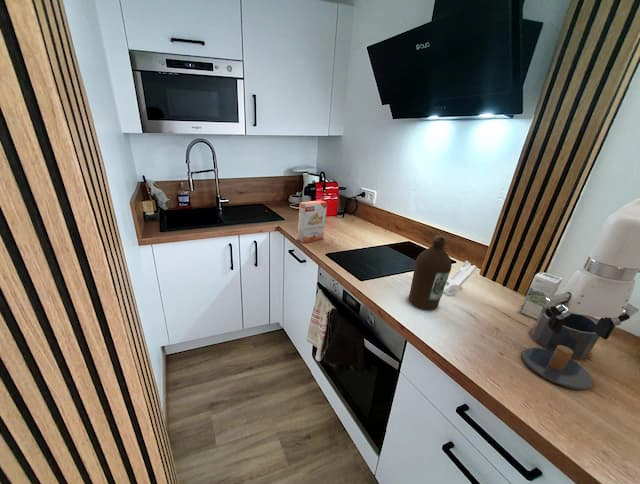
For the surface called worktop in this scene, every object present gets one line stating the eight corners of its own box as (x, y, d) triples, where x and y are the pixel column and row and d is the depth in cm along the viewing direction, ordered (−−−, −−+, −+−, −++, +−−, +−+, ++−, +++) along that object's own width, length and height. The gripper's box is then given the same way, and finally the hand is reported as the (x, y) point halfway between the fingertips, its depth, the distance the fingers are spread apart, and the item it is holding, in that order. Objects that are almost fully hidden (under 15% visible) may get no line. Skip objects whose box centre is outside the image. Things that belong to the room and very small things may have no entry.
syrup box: (545, 315, 95) (563, 277, 90) (539, 321, 92) (557, 282, 86) (524, 307, 100) (540, 270, 94) (518, 312, 97) (534, 274, 91)
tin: (567, 333, 87) (580, 309, 84) (600, 362, 76) (616, 337, 73) (522, 327, 89) (532, 304, 86) (547, 354, 78) (560, 329, 75)
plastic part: (433, 285, 113) (439, 258, 108) (455, 284, 114) (463, 257, 109) (445, 295, 106) (453, 267, 101) (469, 293, 107) (478, 265, 102)
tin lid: (565, 355, 78) (576, 335, 75) (606, 396, 66) (620, 374, 63) (511, 347, 80) (519, 328, 78) (540, 385, 68) (552, 364, 66)
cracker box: (303, 243, 151) (305, 204, 142) (296, 239, 155) (299, 202, 147) (324, 239, 157) (327, 202, 149) (317, 236, 162) (320, 199, 154)
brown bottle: (400, 299, 102) (415, 233, 92) (419, 292, 107) (436, 229, 97) (426, 314, 94) (445, 244, 84) (446, 307, 98) (467, 239, 89)
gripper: (641, 265, 64) (605, 327, 70) (552, 258, 67) (526, 318, 74) (676, 281, 57) (633, 348, 64) (575, 272, 60) (544, 337, 67)
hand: (576, 332), depth 69 cm, fingers open, 9 cm apart
